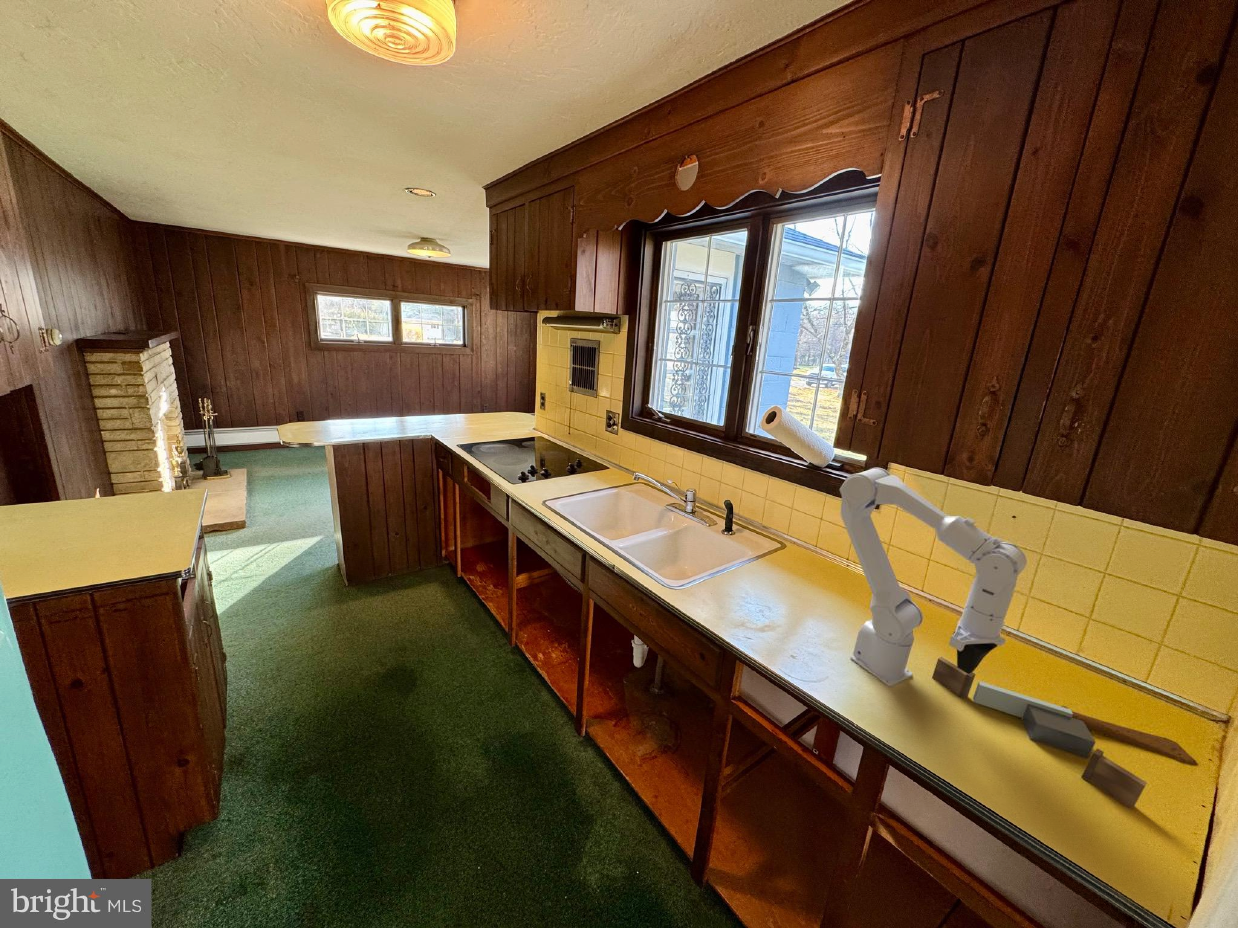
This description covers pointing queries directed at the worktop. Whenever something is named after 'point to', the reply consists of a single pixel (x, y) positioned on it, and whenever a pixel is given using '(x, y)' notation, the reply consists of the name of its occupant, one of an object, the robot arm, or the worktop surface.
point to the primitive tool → (1137, 738)
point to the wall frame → (1098, 767)
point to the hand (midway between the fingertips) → (964, 669)
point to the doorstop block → (1058, 731)
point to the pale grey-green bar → (1011, 701)
